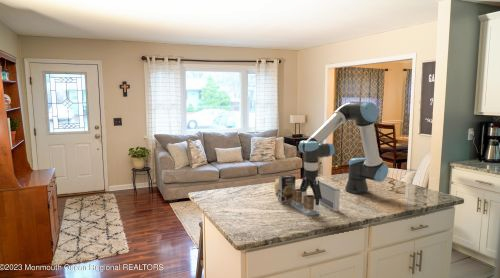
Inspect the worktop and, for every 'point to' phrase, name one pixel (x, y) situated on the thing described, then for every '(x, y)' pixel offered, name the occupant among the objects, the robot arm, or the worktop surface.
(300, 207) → the pin board
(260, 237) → the worktop surface
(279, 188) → the coffee box
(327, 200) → the feeder housing
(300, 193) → the sleeve
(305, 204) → the sleeve
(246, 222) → the worktop surface
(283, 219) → the worktop surface
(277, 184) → the sculpture
